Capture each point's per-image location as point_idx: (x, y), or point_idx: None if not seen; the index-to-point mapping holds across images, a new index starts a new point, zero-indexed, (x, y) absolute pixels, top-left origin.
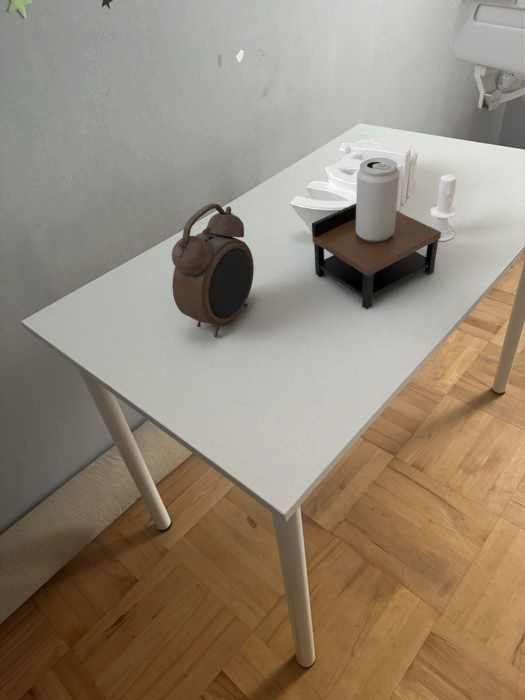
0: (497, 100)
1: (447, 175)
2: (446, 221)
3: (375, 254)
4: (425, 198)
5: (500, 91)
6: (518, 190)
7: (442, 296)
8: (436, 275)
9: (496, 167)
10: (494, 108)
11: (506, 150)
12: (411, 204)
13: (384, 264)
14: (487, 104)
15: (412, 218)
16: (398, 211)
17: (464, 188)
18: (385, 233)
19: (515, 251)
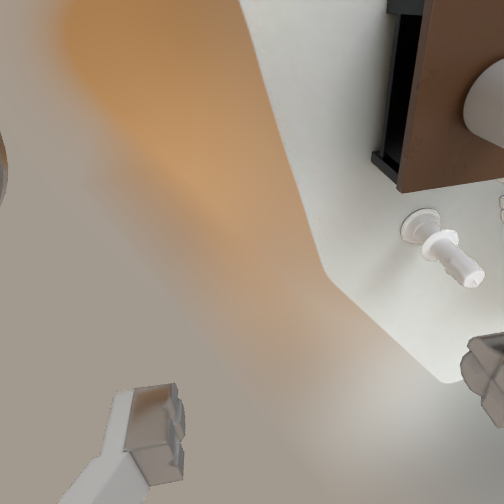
0: (482, 388)
1: (478, 282)
2: (424, 239)
3: (454, 49)
4: (485, 262)
5: (501, 424)
6: (399, 342)
7: (324, 133)
8: (363, 160)
9: (446, 354)
10: (466, 358)
11: (456, 378)
12: (494, 240)
13: (421, 46)
14: (502, 351)
15: (463, 183)
16: (501, 216)
17: (454, 307)
18: (475, 97)
19: (325, 269)
